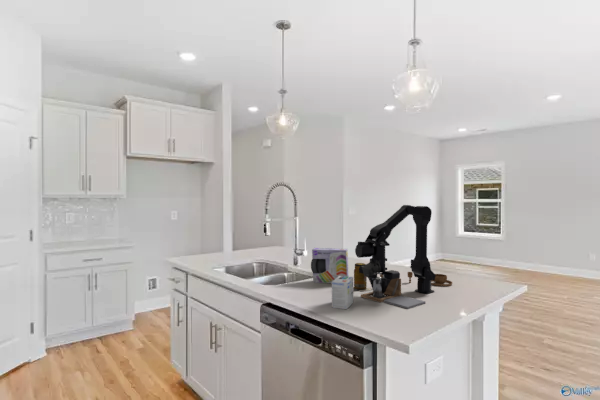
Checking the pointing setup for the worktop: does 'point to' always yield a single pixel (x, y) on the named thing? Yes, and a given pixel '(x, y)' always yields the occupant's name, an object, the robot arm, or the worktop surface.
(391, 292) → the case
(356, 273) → the condiment
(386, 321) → the worktop surface
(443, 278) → the place setting
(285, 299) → the worktop surface
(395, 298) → the mat
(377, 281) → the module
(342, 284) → the light bulb box
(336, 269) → the cake pan box
